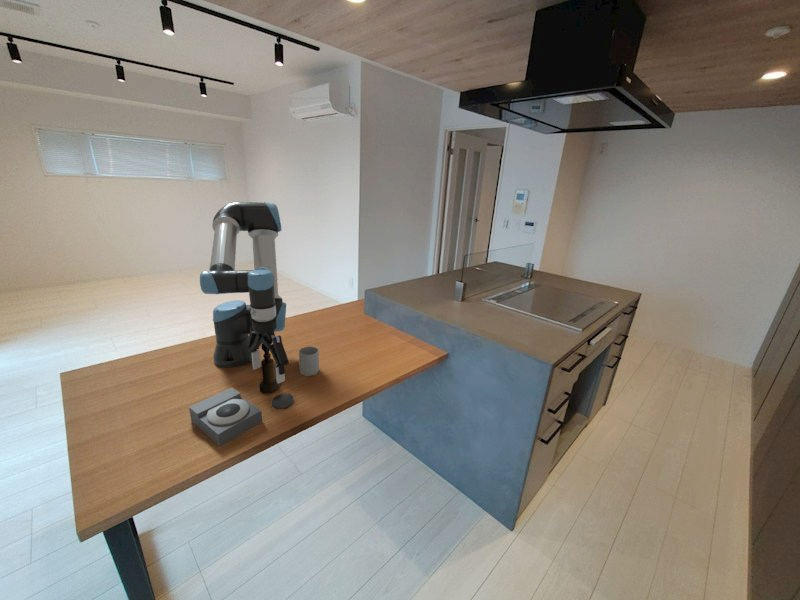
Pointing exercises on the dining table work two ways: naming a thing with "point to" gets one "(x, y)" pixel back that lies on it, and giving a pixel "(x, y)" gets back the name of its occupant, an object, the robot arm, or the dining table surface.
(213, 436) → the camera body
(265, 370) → the brown wooden pepper mill
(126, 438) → the dining table surface
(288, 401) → the dark grey dome
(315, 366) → the cup
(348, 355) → the dining table surface
